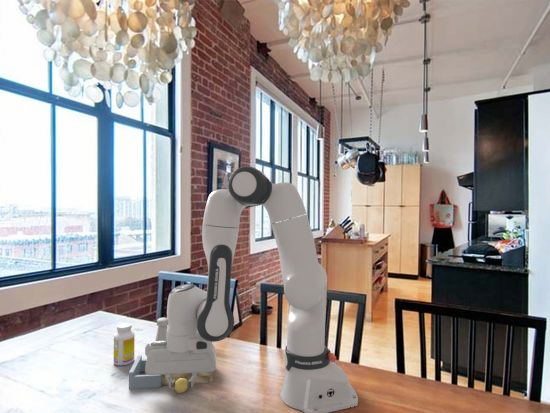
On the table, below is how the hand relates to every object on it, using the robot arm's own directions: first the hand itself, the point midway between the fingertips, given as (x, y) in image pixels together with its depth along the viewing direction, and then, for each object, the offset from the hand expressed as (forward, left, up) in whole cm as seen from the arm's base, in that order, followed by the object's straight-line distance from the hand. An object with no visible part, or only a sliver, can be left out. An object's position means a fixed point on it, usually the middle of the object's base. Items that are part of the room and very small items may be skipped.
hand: (181, 386), depth 99 cm
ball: (0, 0, 0) cm, 0 cm away
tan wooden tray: (-1, -9, -2) cm, 9 cm away
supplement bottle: (+22, -21, -2) cm, 31 cm away
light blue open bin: (+11, -9, -2) cm, 14 cm away
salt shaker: (+10, -26, -2) cm, 28 cm away
